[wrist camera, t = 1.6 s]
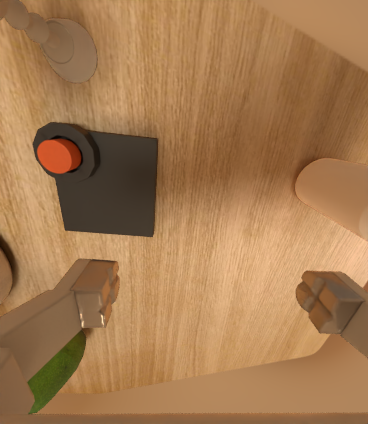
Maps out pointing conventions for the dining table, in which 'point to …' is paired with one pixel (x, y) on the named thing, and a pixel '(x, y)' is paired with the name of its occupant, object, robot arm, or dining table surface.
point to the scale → (106, 181)
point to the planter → (5, 276)
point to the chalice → (55, 41)
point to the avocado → (56, 371)
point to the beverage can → (337, 192)
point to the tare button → (59, 155)
